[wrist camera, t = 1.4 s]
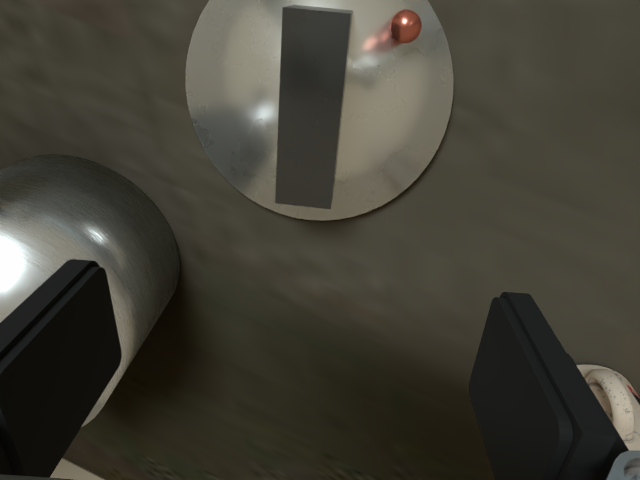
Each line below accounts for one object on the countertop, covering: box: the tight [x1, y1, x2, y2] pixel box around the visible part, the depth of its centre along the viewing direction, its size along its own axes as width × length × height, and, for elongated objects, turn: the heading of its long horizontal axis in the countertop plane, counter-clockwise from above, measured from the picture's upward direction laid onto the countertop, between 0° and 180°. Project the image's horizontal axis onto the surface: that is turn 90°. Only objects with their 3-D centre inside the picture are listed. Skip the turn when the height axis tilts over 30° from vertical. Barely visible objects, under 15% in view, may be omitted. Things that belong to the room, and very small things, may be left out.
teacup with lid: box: [576, 364, 640, 451], centre depth 32 cm, size 12×9×12 cm
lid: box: [186, 0, 453, 221], centre depth 26 cm, size 16×16×6 cm
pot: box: [0, 154, 180, 426], centre depth 30 cm, size 23×15×11 cm, turn 175°
